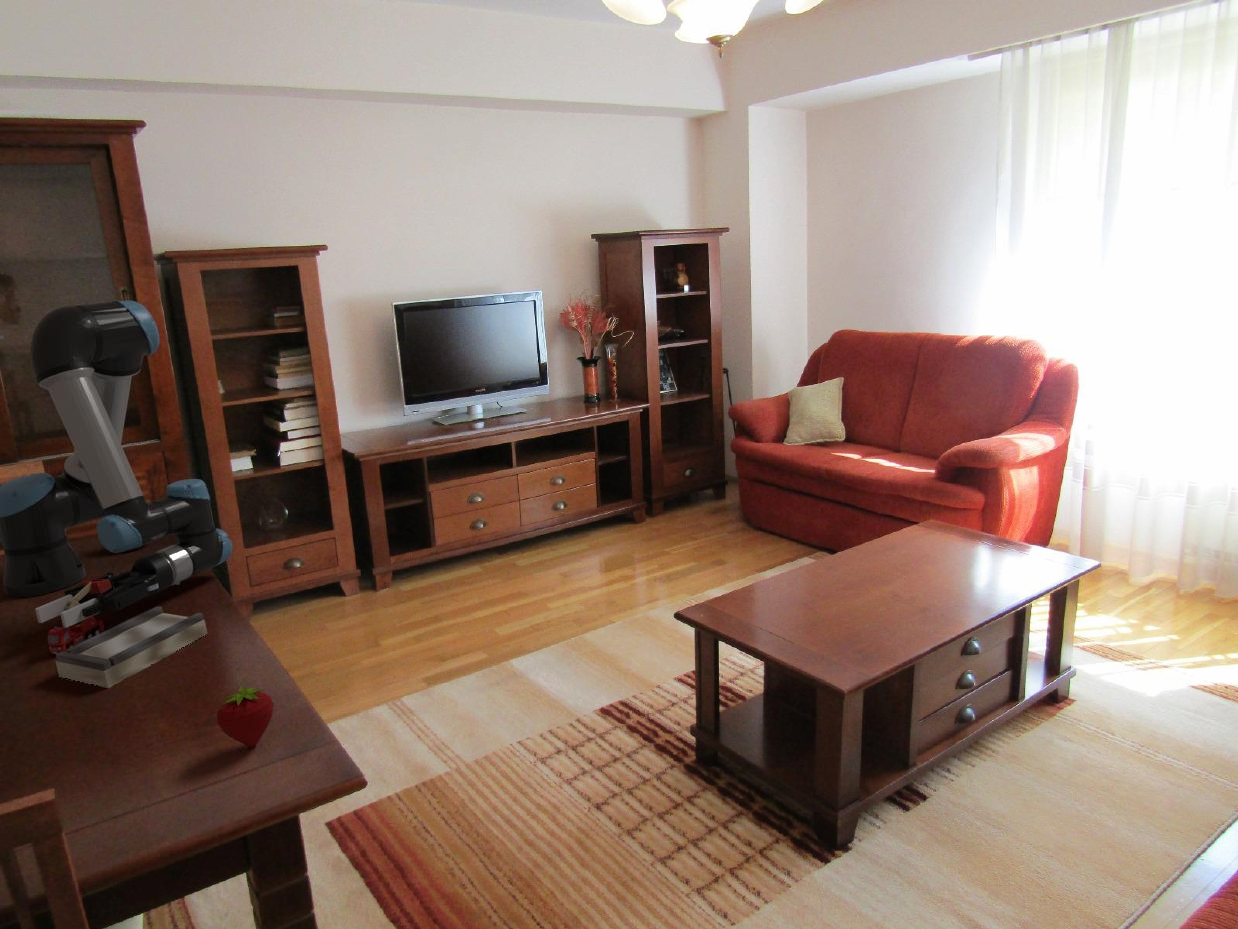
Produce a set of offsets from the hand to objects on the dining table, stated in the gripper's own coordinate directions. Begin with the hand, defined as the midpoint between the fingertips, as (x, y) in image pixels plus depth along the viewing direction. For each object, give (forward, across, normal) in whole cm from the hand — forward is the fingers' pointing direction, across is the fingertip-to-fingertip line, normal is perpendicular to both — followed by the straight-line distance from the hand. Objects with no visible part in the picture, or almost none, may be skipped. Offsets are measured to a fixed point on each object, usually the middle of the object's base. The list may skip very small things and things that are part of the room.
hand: (50, 618), depth 155 cm
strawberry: (+12, -59, -7) cm, 60 cm away
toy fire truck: (-5, 0, -7) cm, 8 cm away
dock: (-3, -16, -6) cm, 18 cm away
